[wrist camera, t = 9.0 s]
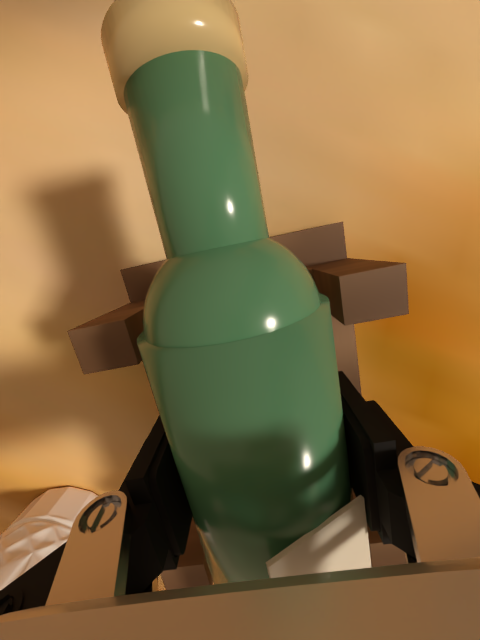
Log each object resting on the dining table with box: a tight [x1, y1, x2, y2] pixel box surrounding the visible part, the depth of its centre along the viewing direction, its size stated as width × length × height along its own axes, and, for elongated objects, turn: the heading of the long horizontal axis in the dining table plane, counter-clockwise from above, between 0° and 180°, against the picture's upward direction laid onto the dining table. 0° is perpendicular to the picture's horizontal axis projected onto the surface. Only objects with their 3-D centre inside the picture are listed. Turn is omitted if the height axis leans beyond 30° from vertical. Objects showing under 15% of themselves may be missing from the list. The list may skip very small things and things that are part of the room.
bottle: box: [101, 0, 371, 585], centre depth 8 cm, size 18×5×6 cm, turn 12°
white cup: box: [0, 487, 98, 591], centre depth 14 cm, size 8×8×10 cm
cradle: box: [67, 222, 409, 590], centre depth 13 cm, size 16×11×6 cm
